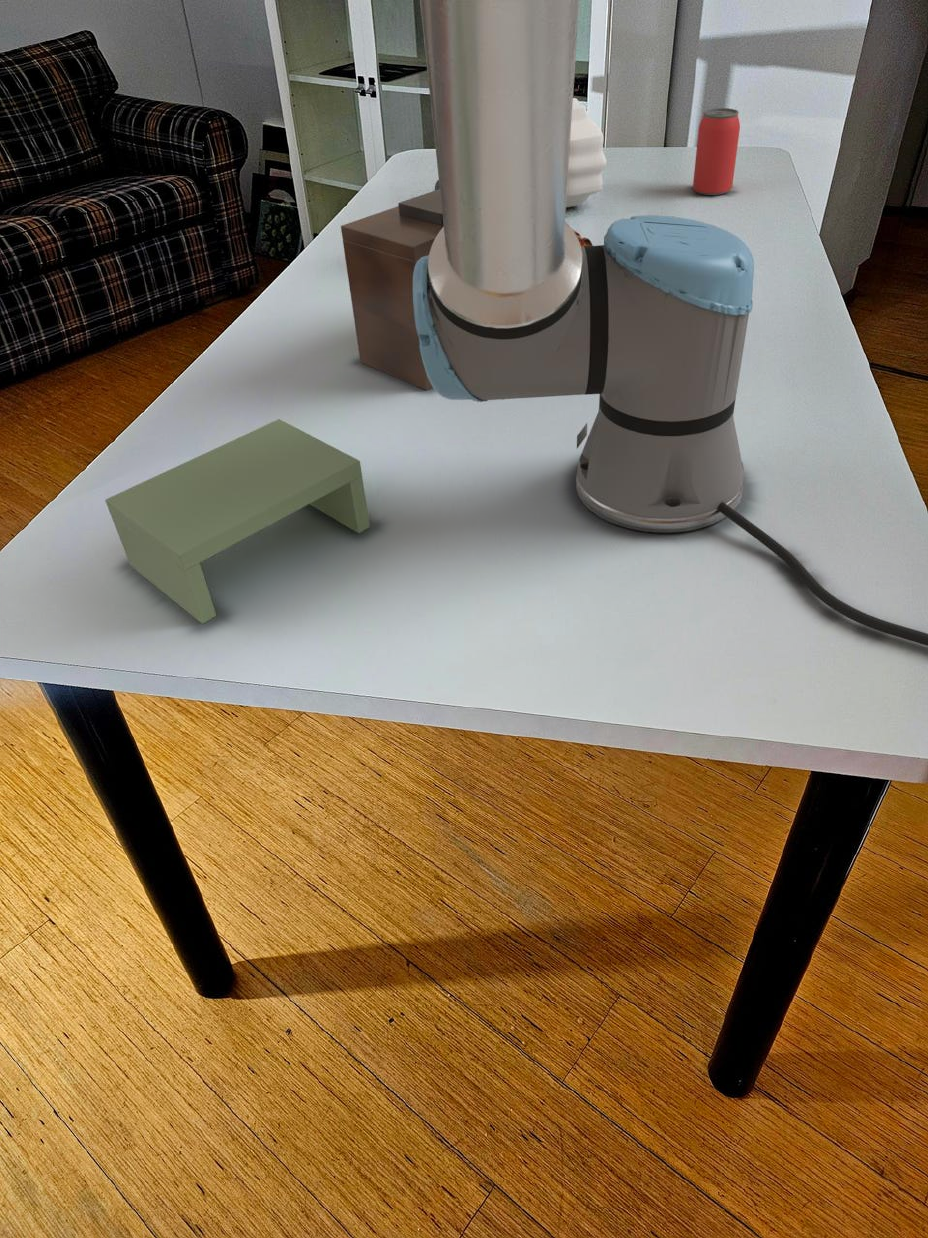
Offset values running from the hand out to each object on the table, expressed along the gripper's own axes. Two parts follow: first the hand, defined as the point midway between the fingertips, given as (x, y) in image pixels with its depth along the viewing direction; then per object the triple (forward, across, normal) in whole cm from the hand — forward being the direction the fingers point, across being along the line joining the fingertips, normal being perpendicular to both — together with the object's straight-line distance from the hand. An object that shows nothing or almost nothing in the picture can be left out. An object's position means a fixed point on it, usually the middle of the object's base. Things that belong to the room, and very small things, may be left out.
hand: (505, 264), depth 97 cm
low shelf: (+12, +41, +6) cm, 43 cm away
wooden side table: (+12, 0, -10) cm, 15 cm away
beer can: (+12, -72, -20) cm, 76 cm away
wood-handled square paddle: (-4, 0, -5) cm, 7 cm away
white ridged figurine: (+12, -52, -36) cm, 65 cm away
